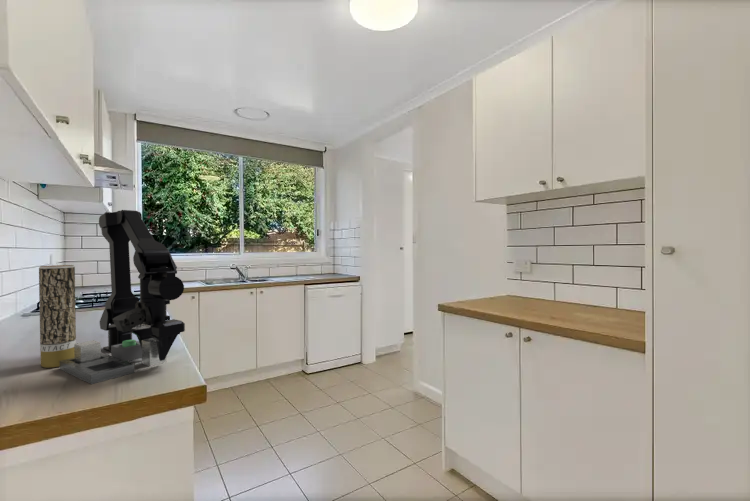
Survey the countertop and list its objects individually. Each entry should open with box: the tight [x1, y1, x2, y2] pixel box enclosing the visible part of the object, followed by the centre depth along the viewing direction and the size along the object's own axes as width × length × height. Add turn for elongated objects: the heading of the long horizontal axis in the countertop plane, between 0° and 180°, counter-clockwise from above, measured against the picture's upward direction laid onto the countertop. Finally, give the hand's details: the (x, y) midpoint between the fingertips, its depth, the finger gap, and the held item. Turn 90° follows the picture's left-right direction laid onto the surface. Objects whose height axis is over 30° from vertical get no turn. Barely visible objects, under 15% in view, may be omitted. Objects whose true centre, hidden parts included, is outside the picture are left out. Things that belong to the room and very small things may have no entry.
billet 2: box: [141, 338, 167, 367], centre depth 92 cm, size 4×4×6 cm
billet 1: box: [74, 339, 102, 364], centre depth 89 cm, size 4×4×6 cm
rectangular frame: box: [59, 351, 135, 385], centre depth 87 cm, size 18×8×2 cm, turn 57°
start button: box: [122, 339, 137, 347], centre depth 97 cm, size 3×3×2 cm
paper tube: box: [38, 264, 77, 369], centre depth 91 cm, size 7×7×25 cm
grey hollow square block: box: [110, 340, 142, 362], centre depth 97 cm, size 6×6×4 cm
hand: (154, 357), depth 92 cm, fingers open, 7 cm apart
